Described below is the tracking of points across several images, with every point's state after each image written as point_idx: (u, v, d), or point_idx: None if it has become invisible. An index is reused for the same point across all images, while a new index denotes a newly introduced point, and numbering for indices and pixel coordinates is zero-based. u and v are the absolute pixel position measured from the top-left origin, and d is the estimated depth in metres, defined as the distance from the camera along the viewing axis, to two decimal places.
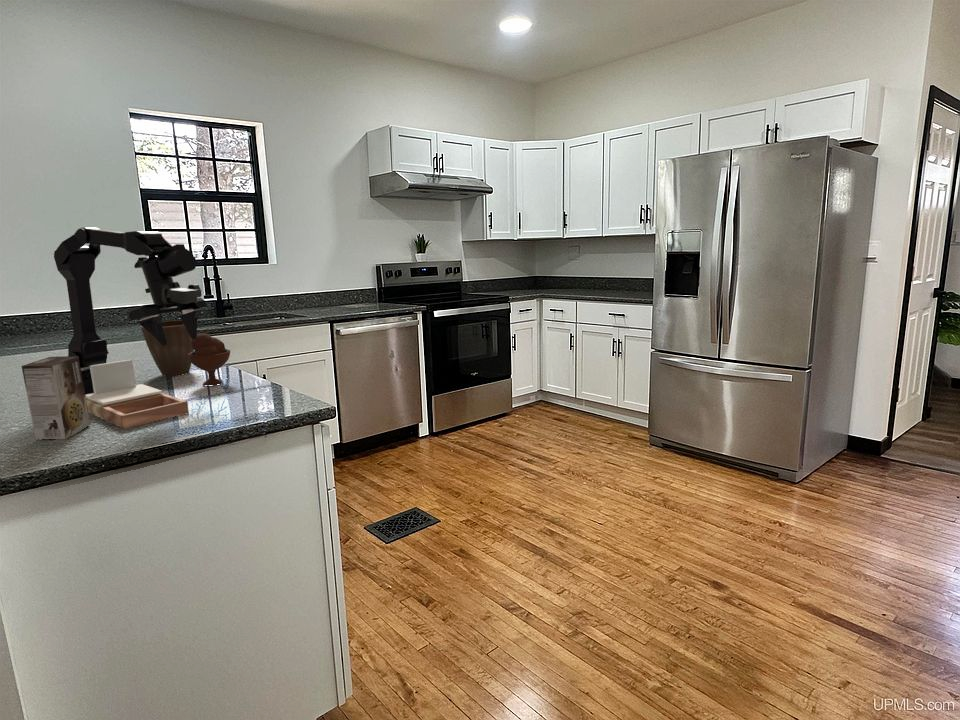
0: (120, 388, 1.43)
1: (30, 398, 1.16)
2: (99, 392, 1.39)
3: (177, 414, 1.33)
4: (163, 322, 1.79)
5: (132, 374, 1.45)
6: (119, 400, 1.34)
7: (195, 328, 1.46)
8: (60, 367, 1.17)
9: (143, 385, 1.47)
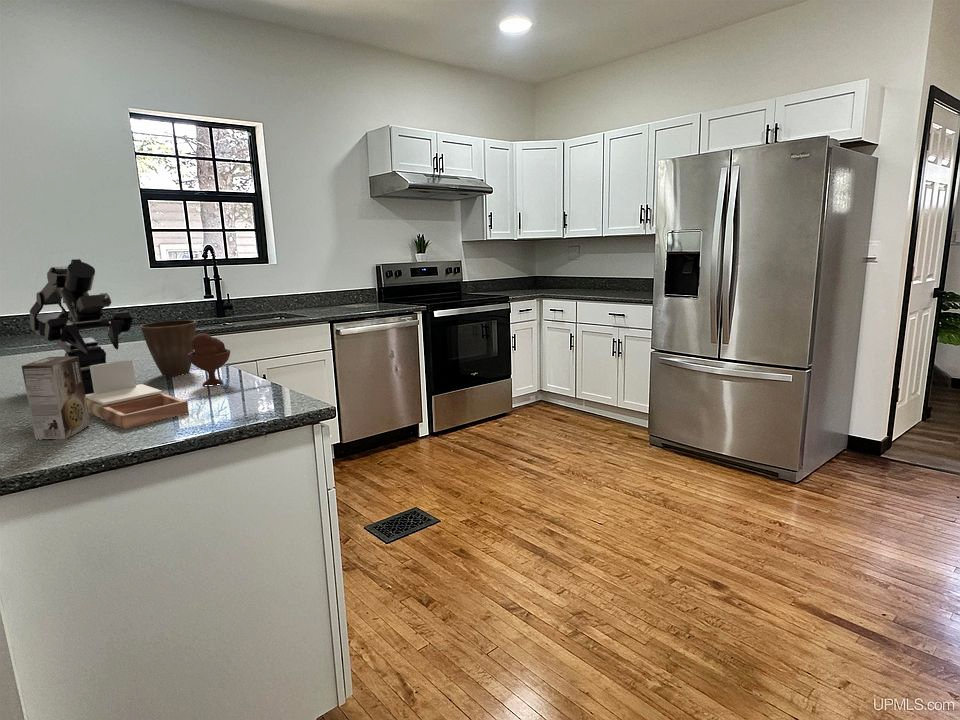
0: (120, 388, 1.43)
1: (30, 398, 1.16)
2: (99, 392, 1.39)
3: (177, 414, 1.33)
4: (163, 322, 1.79)
5: (132, 374, 1.45)
6: (119, 400, 1.34)
7: (115, 338, 1.46)
8: (60, 367, 1.17)
9: (143, 385, 1.47)
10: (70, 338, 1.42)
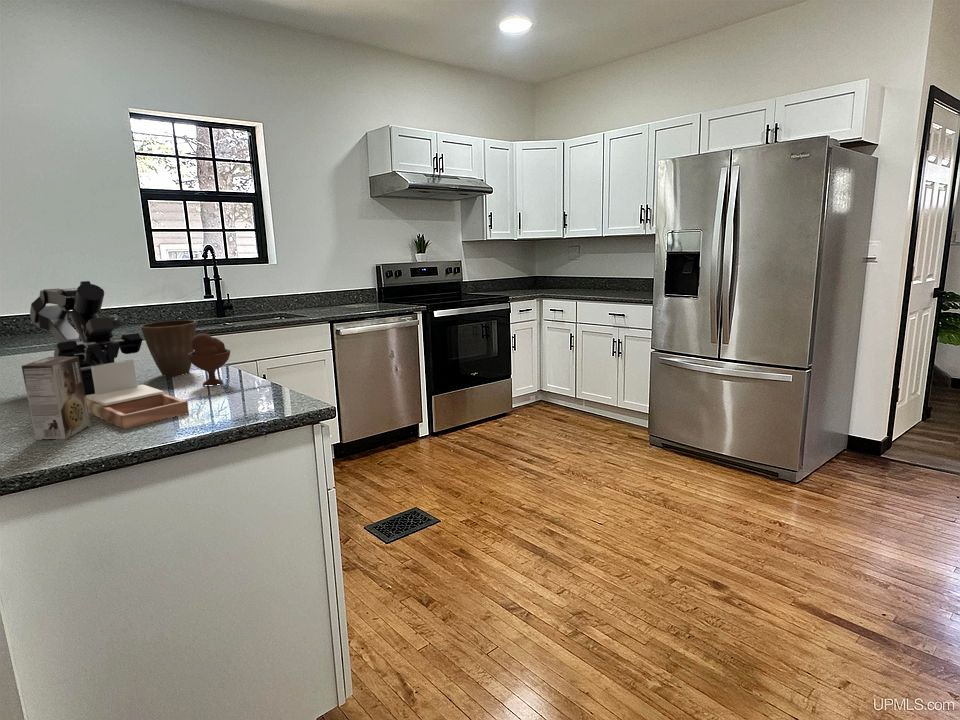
0: (121, 388, 1.42)
1: (30, 398, 1.16)
2: (100, 392, 1.39)
3: (177, 414, 1.33)
4: (163, 322, 1.79)
5: (133, 374, 1.44)
6: (120, 401, 1.33)
7: (111, 362, 1.42)
8: (60, 367, 1.17)
9: (144, 385, 1.46)
10: (94, 359, 1.43)
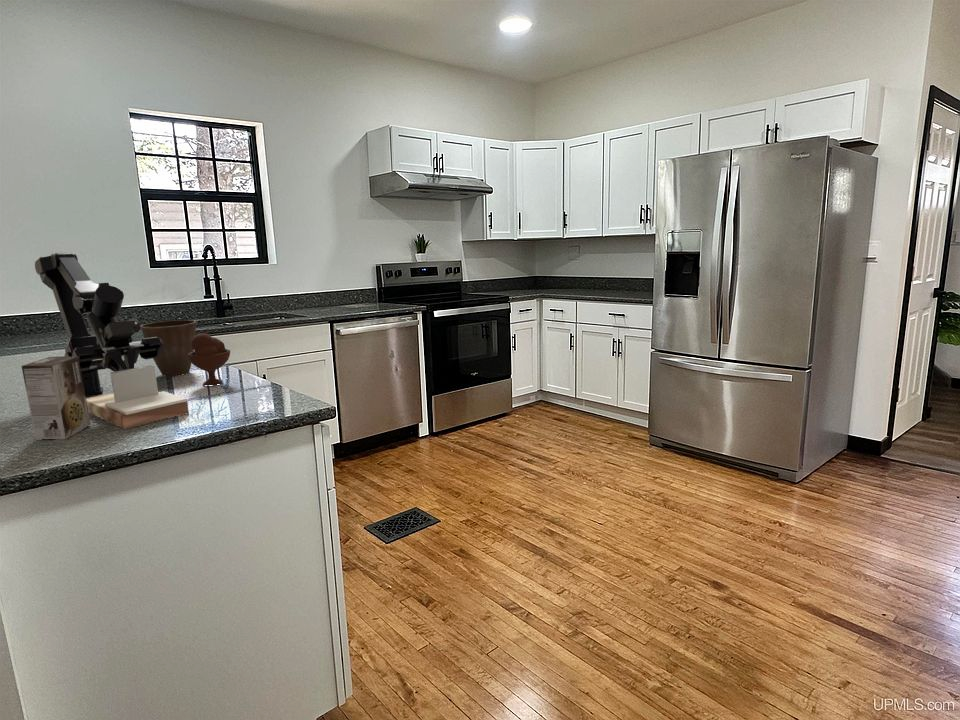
0: (142, 396, 1.35)
1: (30, 398, 1.16)
2: (120, 400, 1.31)
3: (177, 414, 1.33)
4: (163, 322, 1.79)
5: (154, 381, 1.37)
6: (142, 409, 1.26)
7: (131, 368, 1.35)
8: (60, 367, 1.17)
9: (165, 392, 1.39)
10: (113, 365, 1.36)
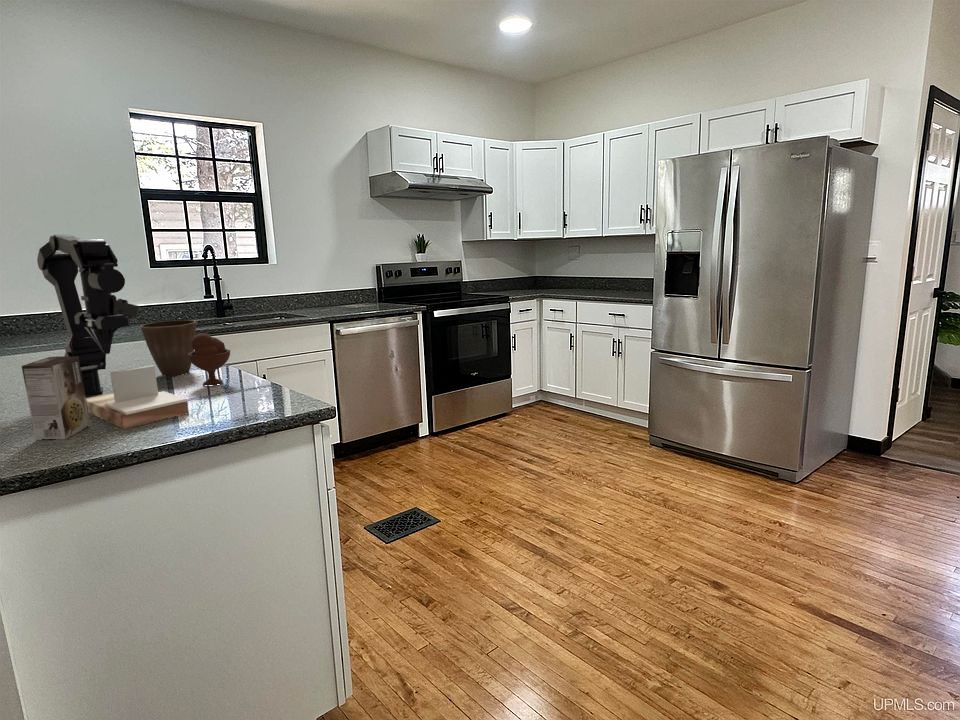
0: (142, 396, 1.35)
1: (30, 398, 1.16)
2: (120, 400, 1.31)
3: (177, 414, 1.33)
4: (163, 322, 1.79)
5: (154, 381, 1.37)
6: (142, 409, 1.26)
7: None
8: (60, 367, 1.17)
9: (165, 392, 1.39)
10: (100, 331, 1.39)
